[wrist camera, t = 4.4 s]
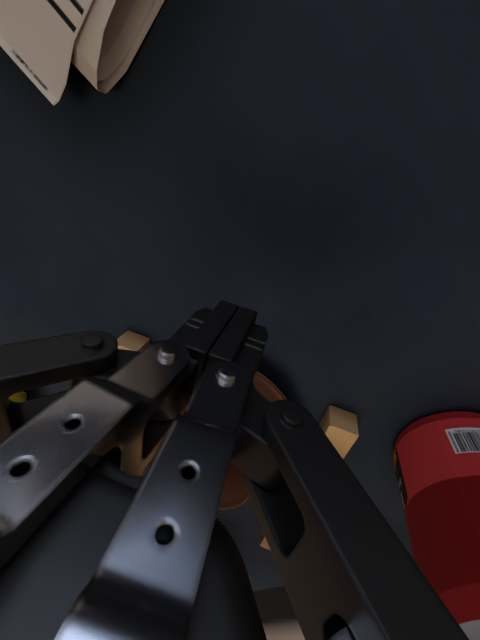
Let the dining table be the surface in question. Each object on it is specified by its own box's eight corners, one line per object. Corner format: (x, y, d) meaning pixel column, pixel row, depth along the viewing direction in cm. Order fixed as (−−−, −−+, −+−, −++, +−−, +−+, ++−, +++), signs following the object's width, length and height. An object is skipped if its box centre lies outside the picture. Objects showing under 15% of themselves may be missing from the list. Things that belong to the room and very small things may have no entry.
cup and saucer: (135, 390, 26) (86, 446, 21) (220, 313, 20) (181, 364, 15) (230, 473, 28) (207, 545, 23) (333, 425, 22) (334, 507, 17)
